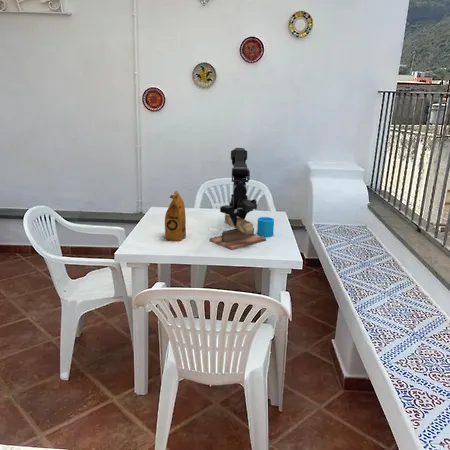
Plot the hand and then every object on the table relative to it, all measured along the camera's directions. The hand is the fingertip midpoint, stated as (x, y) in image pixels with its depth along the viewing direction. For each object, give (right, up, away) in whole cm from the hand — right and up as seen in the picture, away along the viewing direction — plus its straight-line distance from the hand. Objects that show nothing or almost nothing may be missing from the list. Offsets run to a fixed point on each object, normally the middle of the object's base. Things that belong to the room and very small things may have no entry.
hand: (238, 225), depth 209 cm
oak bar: (0, -1, 0) cm, 1 cm away
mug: (+14, -5, +14) cm, 21 cm away
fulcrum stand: (0, -7, +2) cm, 8 cm away
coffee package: (-30, -6, +5) cm, 31 cm away
